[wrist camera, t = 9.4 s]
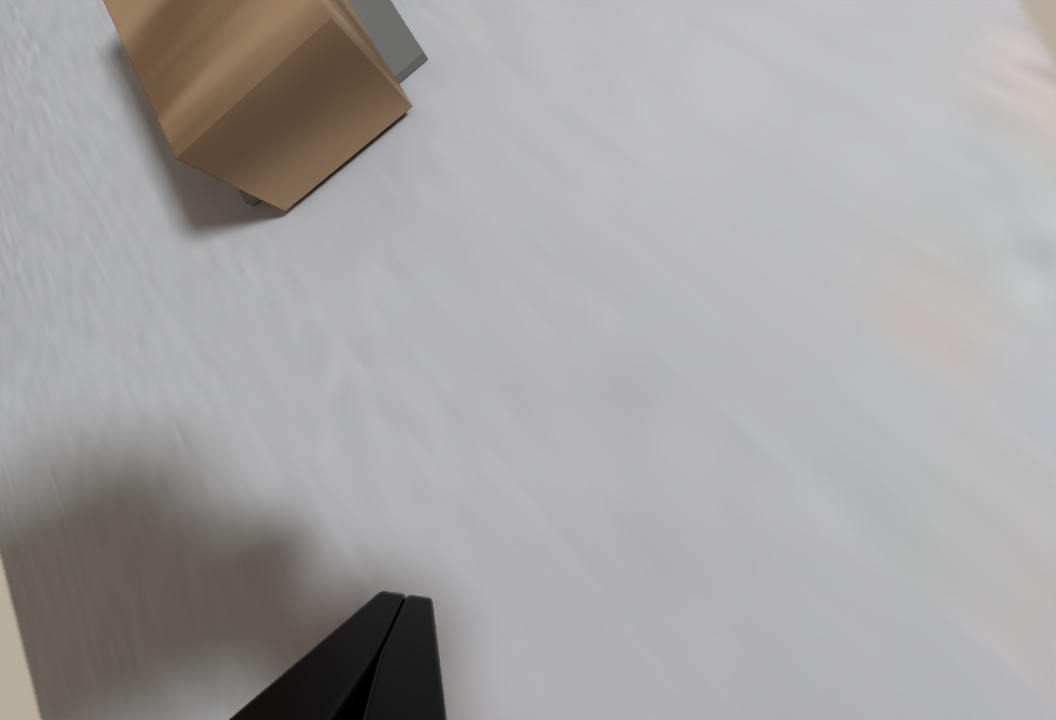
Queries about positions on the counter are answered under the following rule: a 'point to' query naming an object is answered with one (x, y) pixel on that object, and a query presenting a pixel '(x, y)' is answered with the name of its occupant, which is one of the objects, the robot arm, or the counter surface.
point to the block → (260, 87)
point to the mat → (383, 43)
